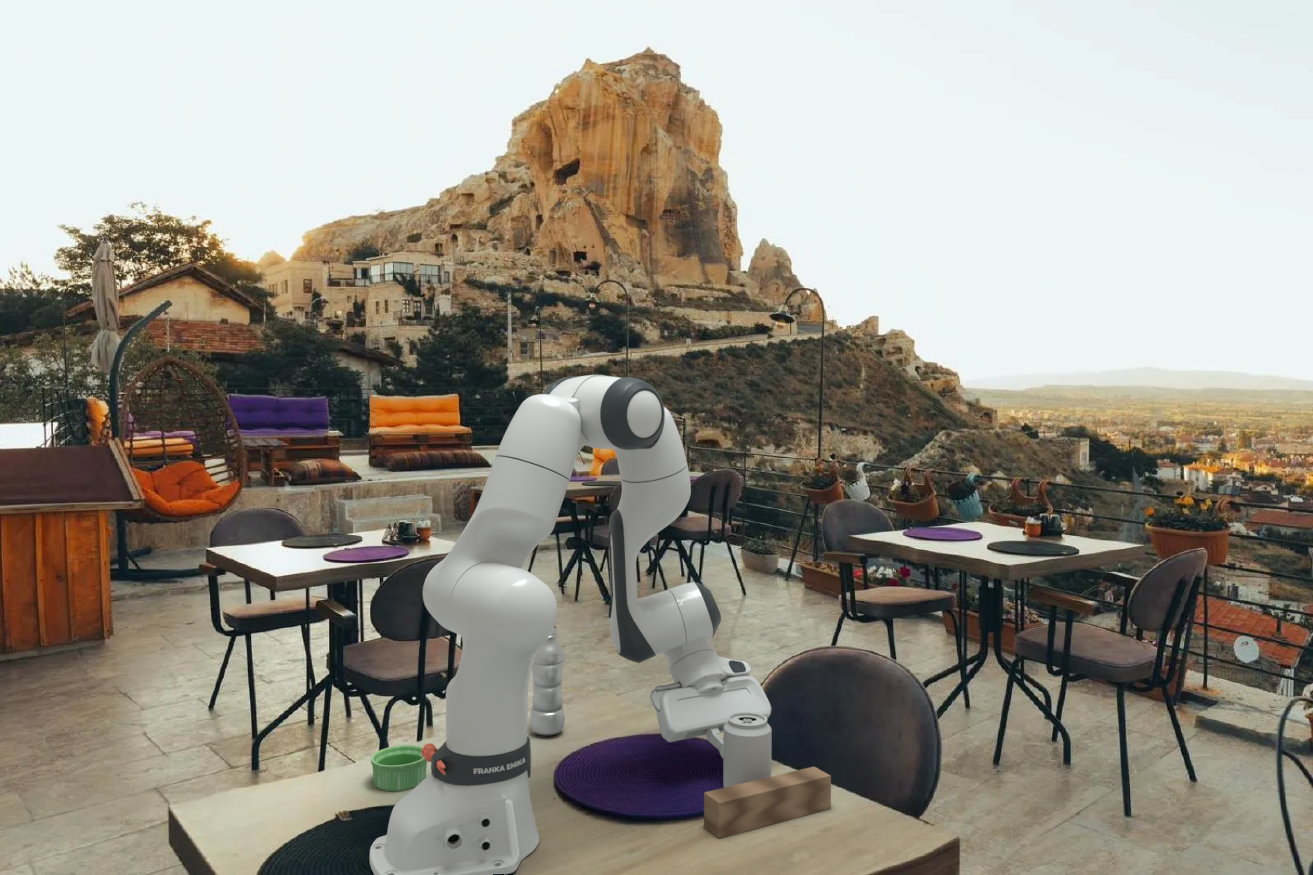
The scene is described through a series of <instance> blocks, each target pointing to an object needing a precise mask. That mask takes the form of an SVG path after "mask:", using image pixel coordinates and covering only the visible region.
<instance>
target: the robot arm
mask: <svg viewBox="0 0 1313 875" xmlns="http://www.w3.org/2000/svg"><path fill="white" fill-rule="evenodd" d="M584 446H585V447H590V448H593V449H598V450H599V449H600V450H601V449H602V450H613V451H614V452H615V455H616V458H617V459H616V461H617V466H618V471H619V476H620V482H621V495H620V499H619V503H618V506H617V508H616V509H615V510H614V511H613V512H612V513H611V514H610V517H609V520H608V530H607V531H608V532H607V533H608V534H607V535H608V541H607V542H608V565H609V585H610V586H609V587H610V588H609V589H610V621H609V632H610V638H611V641H612V645H613V647H614V648H615V650H616V653H617V654H618V655H619V656H620V657H621V658H624V659H626V660H628V661H630V662H633V663H637V664H640V663H643V662H645V661H647V660H650V659H652V658H654V657H656V656H657V655H660V654H663V656H664V657H665V658H666V660H667V663H668V669H669V673H670V676H671V679H672V681H673V682H672V683H667V684H660V685H657V686H655V688H653V689H652V690H651V692H650V693H649V694H650V702H651V704H652V707H653V709H655V713H656V719H657V723H658V727H659V730H660V733H661V736H662V738H663V739H664V740H665V741H667V742H668V743H673V742H678V741H682V740H687V739H693V738H697V737H701V736H705V737H706V739H707V741H708V742H709V743H710V744H712V746H714V747H715V748H716V749H717V750H718V752H719V755H720V757H721V758H722V759H723V744H724V738H721V736H720V733H722V732H724V725H725V724H726V723H727V722H728V716H729V715H731V714H733V713H737V712H754V713H759V714H761V715H764V716H765V717H766V718H767V719H769V717H770V716H771V714H772V713H771V712H772V706H771V703H770V701H769V699H768V697H767V694H766V692H765V690H764V688H763V687H762V685H761V684H760V682H759V681H758V679H757V678H755V677H754V676H752V675H750V674H751V672H752V668H751V666H750V664H749V663H748V662H747V661H743V660H738V659H737V660H736V659H733V658H732V659H731V658H727V657H724V656H719V655H718V652H717V650H715V648H714V647H713V645H712V644H711V642H710V641H711V639H712V638H714V636H715V634H716V633H717V630H718V628H719V626H720V625H721V622H722V615H721V612H720V609H719V607H718V604H717V602H716V599H715V598H714V595H713V594H712V592H711V589H709V588H707V586H705V585H703V584H701V583H700V582H696V581H693V582H688V583H683V584H681V585H676V586H675V587H671V588H667V589H666V590H663V591H659V592H656V593H653V594H651V595H647V596H644V597H640V598H638V584H637V583H638V582H637V577H638V576H637V558H638V555H639V553H640V551H641V550H642V548H643V547H644V546H645V545H646V544H647V543H648V542H649V541H650V540H651V539H652V538H653V537H655V536H656V535H657V534H659V532H661V531H662V530H664V529H665V528H667V527H668V526H670V525H671V524H672V523H673V522H675V521H676V519H677V518H679V517H680V516H681V514H682V513H683V512H684V510H685V508H686V507H687V505H688V503H689V501H690V499H691V498H690V497H691V493H692V488H691V486H692V485H691V477H690V469H689V466H688V461H687V457H686V452H685V449H684V445H683V442H682V439H681V436H680V433H679V430H678V427H677V425H676V422H675V420H674V418H673V416H672V414H671V412H670V410H669V409H668V408H667V407H665V405H664V402H663V401H662V397H661V395H660V394H659V392H658V390H656V388H655V387H654V386H653V385H652V384H650V383H649V382H647V381H644V380H642V379H639V378H637V377H632V376H625V377H619V376H610V375H604V374H589V375H581V376H577V375H574V376H573V375H571V376H565V377H563V378H560V379H557V380H555V381H554V382H552V383H551V384H549V385H548V386H547V387H546V389H544V391H543V392H542V393H540V394H533V395H531V396H528V397H527V398H526V399H525V400H523V401H522V403H521V404H520V405H519V407H518V409H517V410H516V411H515V414H514V415H513V416H512V419H511V421H510V423H509V424H508V426H507V428H506V431H505V433H504V434H503V437H502V440H501V441H500V444H499V447H498V449H497V452H496V454H495V457H494V459H493V462H492V465H491V468H490V471H489V474H488V476H487V478H486V482H485V485H484V487H483V489H482V492H481V495H480V498H479V500H478V503H477V506H476V507H475V510H474V512H473V514H472V515H471V517H470V519H469V521H468V523H467V524H466V526H465V527H464V529H463V531H462V533H461V534H460V536H459V537H458V539H456V541H455V543H454V545H453V546H452V547H451V549H450V551H449V552H448V554H447V555H446V556H445V557H444V558H443V559H442V560H441V561H439V562H438V563H437V564H435V566H433V568H432V569H431V570H430V571H428V572H429V573H427V575H426V577H425V580H424V583H423V585H422V600H423V604H424V607H425V608H426V610H427V611H428V613H429V614H430V615H431V616H432V617H433V619H434V620H435V621H436V622H437V623H438V624H439V625H440V626H441V627H443V628H444V629H445V630H447V631H449V632H452V633H454V634H457V635H459V636H460V637H461V639H462V640H461V641H462V650H461V655H460V660H459V663H458V667H457V671H456V672H455V673H456V674H455V676H453V678H452V679H450V681H449V682H448V684H447V687H446V689H445V741H444V743H442V745H440V746H439V748H437V747H436V745H434V743H432V742H431V743H426V744H424V745H423V748H422V751H421V753H422V756H423V757H424V758H425V760H426V761H427V763H428V762H429V763H430V769H431V770H430V771H431V772H430V774H429V775H426V778H425V779H424V780H423V781H422V782H421V783H419V784H418V785H417V786H416V787H414V788H412V789H410V791H409V792H408V793H406V795H404V796H403V797H402V798H401V799H399V800H398V801H397V802H396V803H395V805H394V806H393V808H392V811H391V813H390V816H389V821H388V824H387V832H386V834H385V835H382V836H379V837H377V838H376V839H375V840H374V841H373V843H372V844H371V846H370V848H369V857H368V858H369V859H368V860H369V866H370V869H371V871H372V872H373V875H493V874H504V875H508V874H512V873H514V872H515V871H516V870H517V869H518V868H519V866H520V863H521V862H522V861H523V859H525V858H526V857H527V856H529V855H530V854H531V853H532V852H533V851H535V849H536V848H537V847H538V845H539V843H540V842H539V841H540V833H539V832H538V829H537V828H538V827H537V824H536V821H535V816H534V811H533V806H532V798H531V792H530V791H531V789H530V780H529V779H530V778H531V771H532V770H531V768H532V747H531V738H530V736H528V706H529V704H528V702H529V700H528V699H529V686H530V685H529V684H530V678H531V674H532V666H533V662H534V659H535V656H536V653H537V650H538V648H539V647H540V645H542V644H543V643H544V642H545V641H546V640H547V638H548V637H549V636H550V634H551V633H552V631H553V629H554V626H556V623H557V619H558V603H557V600H556V596H555V594H554V592H553V590H552V589H551V588H550V587H549V586H548V585H547V583H545V582H543V580H541V579H540V578H538V577H537V576H536V575H534V574H533V573H531V572H530V571H528V570H526V569H523V568H522V567H524V564H525V563H526V561H527V559H528V558H529V556H530V555H531V553H532V552H533V551H534V550H535V548H537V546H538V545H540V543H542V542H543V541H545V540H546V539H547V538H548V537H549V536H550V535H551V534H552V533H553V530H554V529H555V525H556V523H557V520H558V516H559V513H560V510H561V506H562V504H563V501H564V499H565V496H566V492H567V489H568V486H569V485H570V484H569V483H570V480H571V477H572V475H573V470H574V468H575V463H576V460H577V456H578V454H579V453H580V451H581V450H582V449H583V448H584Z"/></svg>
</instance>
